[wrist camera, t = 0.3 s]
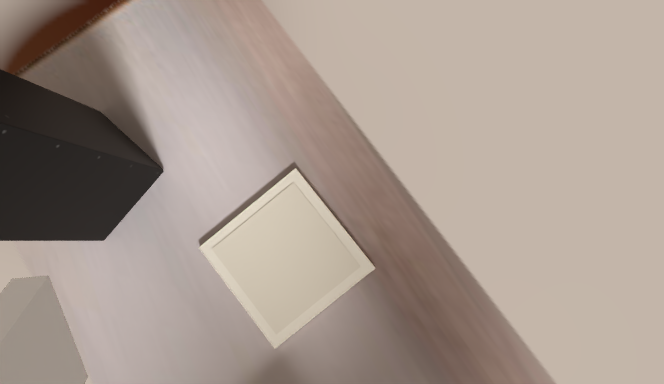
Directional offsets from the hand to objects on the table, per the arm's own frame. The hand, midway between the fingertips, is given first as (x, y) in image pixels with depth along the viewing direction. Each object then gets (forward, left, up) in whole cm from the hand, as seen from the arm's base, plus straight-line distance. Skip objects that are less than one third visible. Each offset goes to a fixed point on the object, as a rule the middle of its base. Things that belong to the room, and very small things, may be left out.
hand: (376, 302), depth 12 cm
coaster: (+5, +7, -34) cm, 35 cm away
